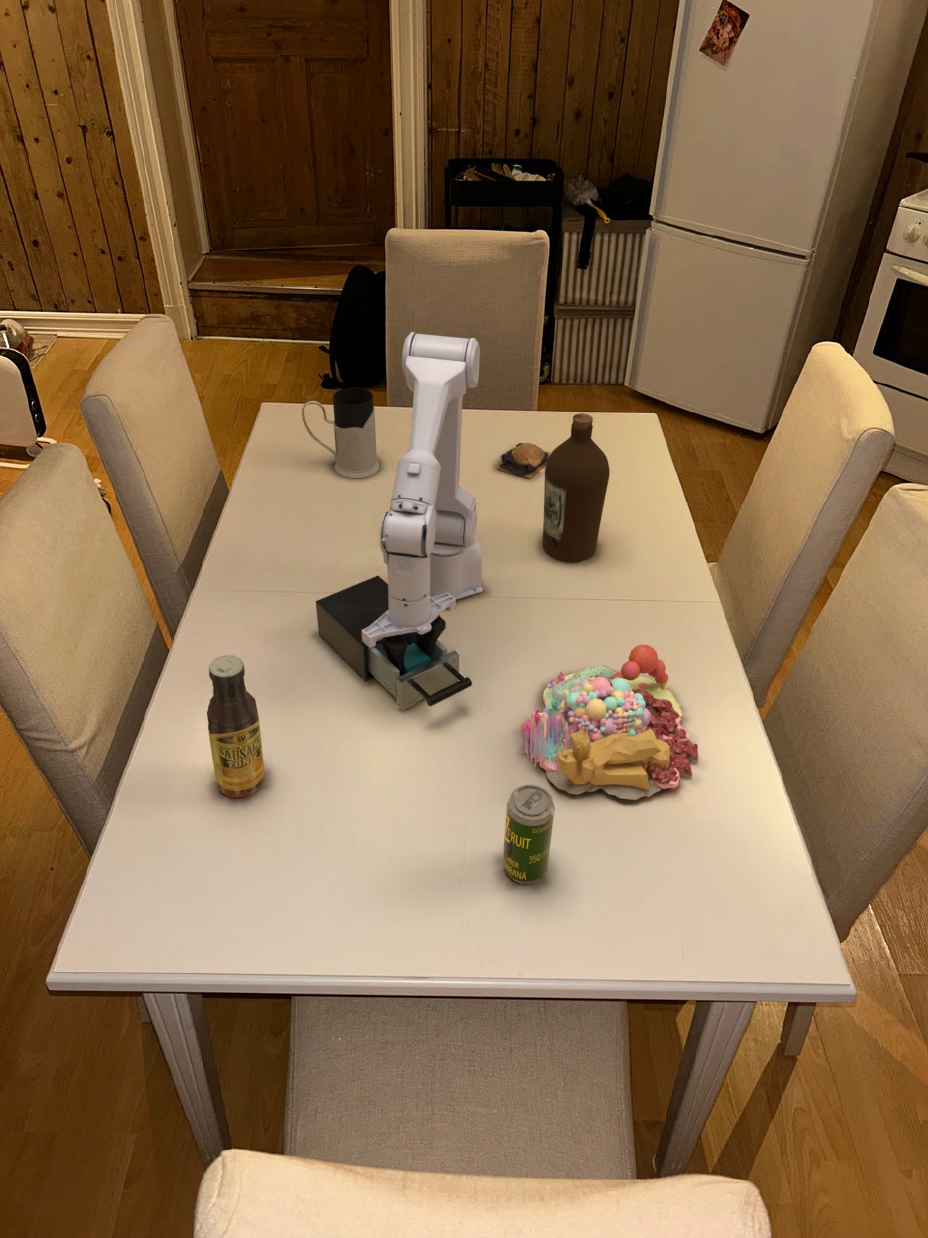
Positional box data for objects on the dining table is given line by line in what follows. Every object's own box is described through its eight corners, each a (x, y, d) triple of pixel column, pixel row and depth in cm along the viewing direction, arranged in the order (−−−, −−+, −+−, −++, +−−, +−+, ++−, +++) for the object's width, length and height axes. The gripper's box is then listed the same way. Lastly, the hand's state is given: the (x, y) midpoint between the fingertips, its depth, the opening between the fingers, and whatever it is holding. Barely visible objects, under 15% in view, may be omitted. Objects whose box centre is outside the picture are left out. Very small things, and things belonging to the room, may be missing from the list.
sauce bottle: (225, 807, 121) (201, 691, 108) (211, 773, 125) (187, 659, 113) (274, 789, 123) (257, 674, 111) (259, 757, 127) (241, 643, 115)
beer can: (520, 841, 118) (526, 775, 110) (556, 865, 115) (564, 799, 107) (493, 869, 114) (497, 803, 107) (529, 894, 112) (536, 828, 104)
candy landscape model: (719, 795, 124) (733, 745, 118) (542, 815, 121) (547, 765, 115) (657, 667, 143) (667, 619, 137) (503, 682, 140) (506, 634, 134)
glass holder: (377, 478, 184) (374, 407, 175) (303, 477, 184) (296, 405, 175) (381, 456, 191) (378, 386, 182) (310, 454, 191) (303, 384, 182)
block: (430, 673, 139) (430, 657, 137) (407, 684, 137) (407, 668, 135) (414, 658, 141) (414, 642, 139) (391, 669, 139) (391, 653, 137)
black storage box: (427, 652, 145) (427, 618, 141) (365, 682, 139) (363, 647, 135) (379, 609, 153) (378, 575, 149) (318, 635, 147) (315, 601, 143)
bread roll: (518, 447, 196) (519, 430, 193) (555, 457, 192) (556, 441, 190) (492, 468, 188) (493, 452, 186) (530, 480, 185) (531, 463, 183)
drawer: (479, 700, 136) (481, 673, 133) (422, 730, 131) (422, 703, 128) (410, 637, 146) (409, 611, 143) (354, 662, 141) (353, 636, 138)
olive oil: (581, 526, 173) (596, 398, 157) (610, 557, 165) (629, 426, 150) (528, 537, 170) (538, 408, 154) (555, 570, 162) (568, 438, 146)
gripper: (380, 623, 123) (384, 700, 132) (469, 584, 131) (467, 659, 139) (351, 596, 128) (356, 672, 136) (439, 559, 135) (438, 634, 143)
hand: (410, 664), depth 138 cm, fingers closed on block, 4 cm apart
